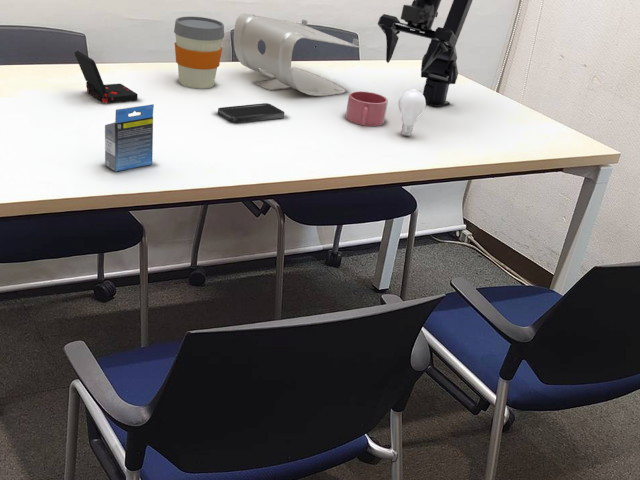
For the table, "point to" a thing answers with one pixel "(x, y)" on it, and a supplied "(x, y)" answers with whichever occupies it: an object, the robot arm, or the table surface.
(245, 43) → the beige plastic curved shell
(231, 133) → the table surface
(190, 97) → the table surface
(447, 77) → the robot arm
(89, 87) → the handheld gaming console
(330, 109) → the table surface
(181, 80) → the reusable coffee cup
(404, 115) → the lightbulb
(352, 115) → the mug
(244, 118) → the phone
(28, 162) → the table surface
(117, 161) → the blue upright rectangular box
